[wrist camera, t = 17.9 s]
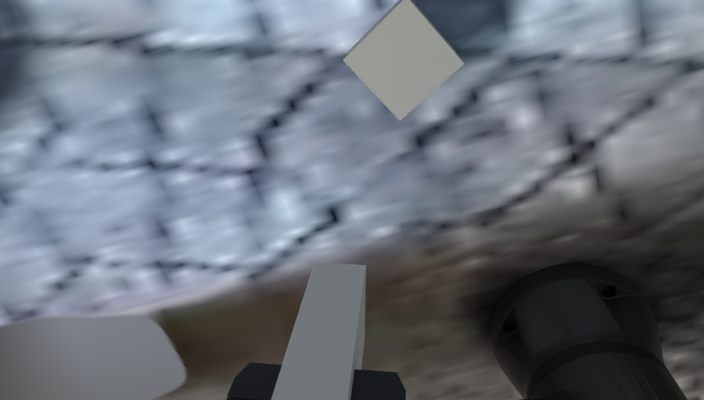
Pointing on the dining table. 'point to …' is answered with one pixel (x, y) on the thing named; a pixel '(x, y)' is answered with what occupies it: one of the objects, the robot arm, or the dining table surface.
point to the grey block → (403, 58)
